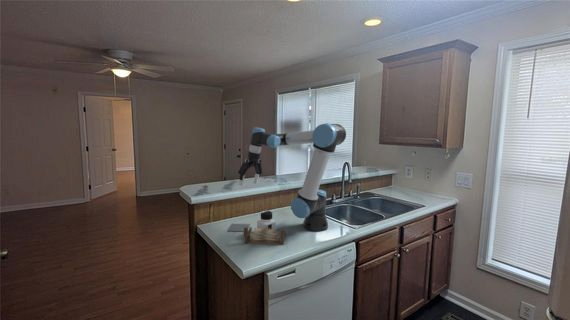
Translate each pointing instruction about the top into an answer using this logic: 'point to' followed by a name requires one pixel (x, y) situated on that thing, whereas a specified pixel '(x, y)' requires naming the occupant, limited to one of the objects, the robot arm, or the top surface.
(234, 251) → the top surface
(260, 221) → the container
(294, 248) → the top surface
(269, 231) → the offcut stack
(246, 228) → the walnut rack
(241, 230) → the rubber mat
